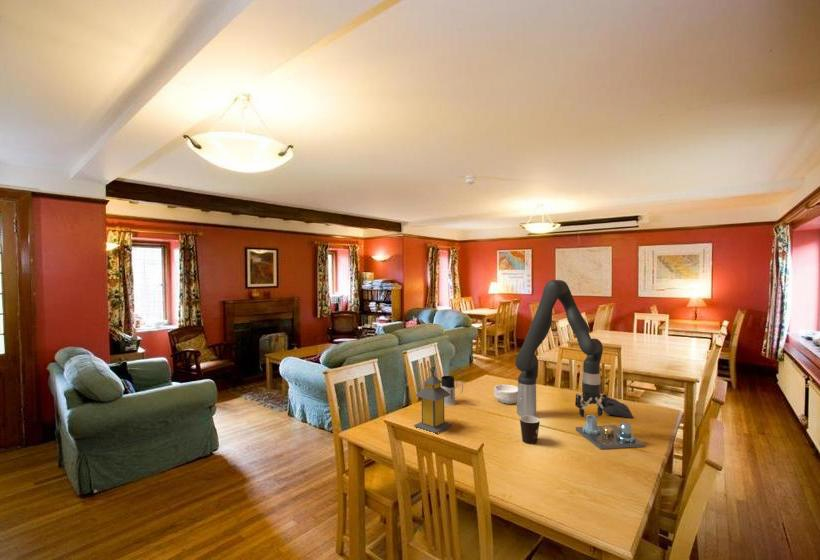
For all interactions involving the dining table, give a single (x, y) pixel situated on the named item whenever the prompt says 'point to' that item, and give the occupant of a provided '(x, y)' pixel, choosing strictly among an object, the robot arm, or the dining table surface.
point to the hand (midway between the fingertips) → (590, 416)
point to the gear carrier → (612, 437)
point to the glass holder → (449, 389)
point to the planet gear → (591, 425)
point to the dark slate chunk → (617, 408)
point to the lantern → (433, 405)
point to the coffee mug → (529, 429)
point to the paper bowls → (506, 393)
